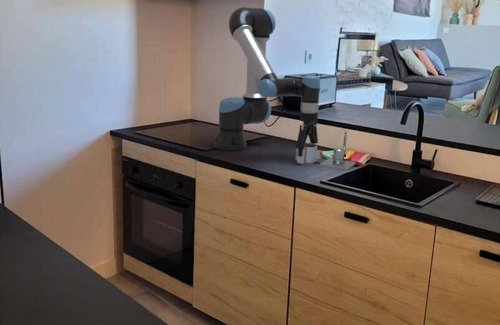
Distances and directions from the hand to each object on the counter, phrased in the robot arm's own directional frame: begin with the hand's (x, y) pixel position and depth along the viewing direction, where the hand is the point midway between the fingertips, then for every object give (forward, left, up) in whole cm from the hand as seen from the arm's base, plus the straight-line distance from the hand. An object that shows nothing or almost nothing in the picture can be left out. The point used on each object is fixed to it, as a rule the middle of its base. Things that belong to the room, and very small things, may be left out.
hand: (306, 160), depth 230 cm
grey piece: (+1, 0, 0) cm, 1 cm away
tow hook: (+12, +16, 0) cm, 20 cm away
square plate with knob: (+14, +2, 0) cm, 14 cm away
